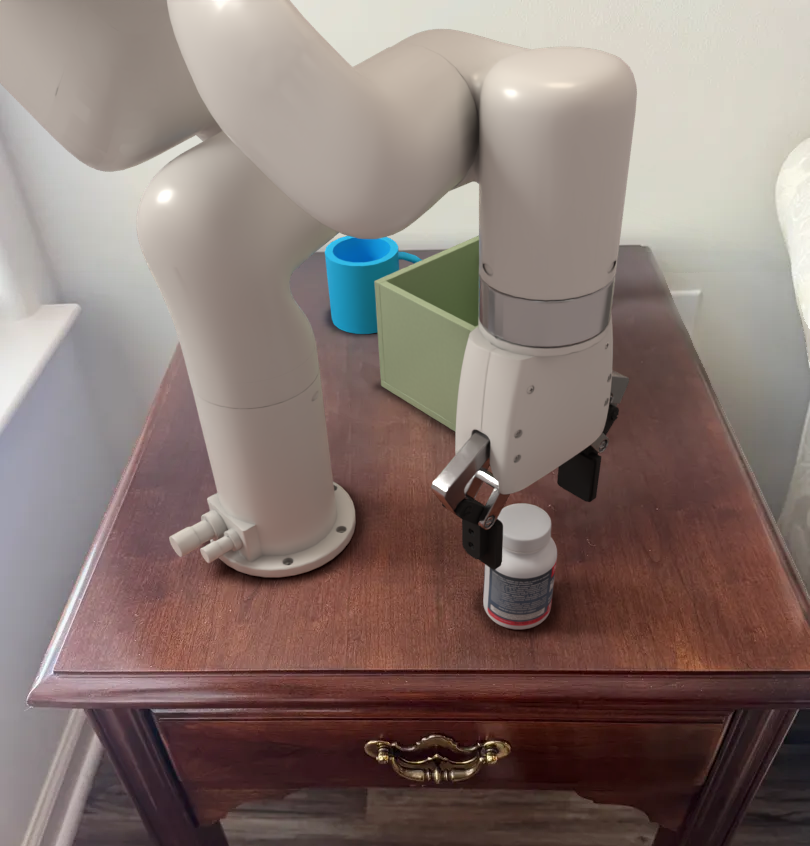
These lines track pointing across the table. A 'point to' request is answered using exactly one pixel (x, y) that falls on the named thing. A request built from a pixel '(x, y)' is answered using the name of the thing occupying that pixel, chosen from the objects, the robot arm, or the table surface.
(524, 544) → the pill bottle
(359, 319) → the mug
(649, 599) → the table surface
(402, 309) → the chest
